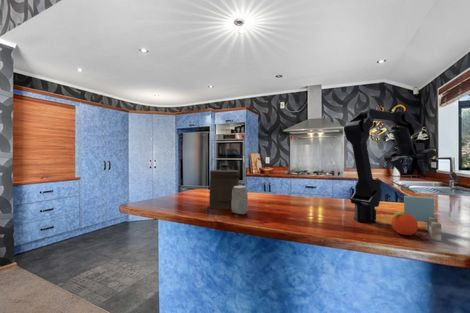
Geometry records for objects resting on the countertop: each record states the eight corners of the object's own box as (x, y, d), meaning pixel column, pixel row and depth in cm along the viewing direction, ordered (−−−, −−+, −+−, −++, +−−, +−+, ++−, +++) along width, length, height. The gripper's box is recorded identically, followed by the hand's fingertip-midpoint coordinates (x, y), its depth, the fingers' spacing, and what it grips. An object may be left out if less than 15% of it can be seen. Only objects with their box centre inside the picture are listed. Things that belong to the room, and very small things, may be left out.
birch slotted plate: (432, 240, 69) (432, 223, 69) (428, 231, 77) (428, 216, 77) (441, 241, 68) (441, 224, 68) (436, 232, 76) (436, 217, 76)
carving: (250, 214, 100) (251, 186, 100) (236, 216, 95) (236, 187, 96) (242, 211, 105) (242, 185, 105) (228, 213, 101) (228, 186, 101)
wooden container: (244, 205, 117) (244, 162, 117) (227, 211, 104) (228, 163, 105) (220, 202, 125) (221, 162, 125) (203, 207, 112) (203, 162, 113)
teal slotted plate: (404, 227, 81) (404, 196, 81) (404, 225, 83) (404, 195, 83) (433, 231, 77) (433, 198, 77) (432, 229, 79) (432, 197, 79)
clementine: (397, 238, 70) (397, 215, 70) (383, 231, 77) (383, 210, 77) (423, 238, 70) (423, 215, 70) (406, 231, 77) (406, 210, 77)
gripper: (439, 131, 92) (450, 167, 92) (395, 137, 109) (404, 167, 110) (421, 139, 88) (432, 177, 89) (378, 144, 106) (388, 176, 107)
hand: (413, 174), depth 99 cm, fingers open, 9 cm apart
